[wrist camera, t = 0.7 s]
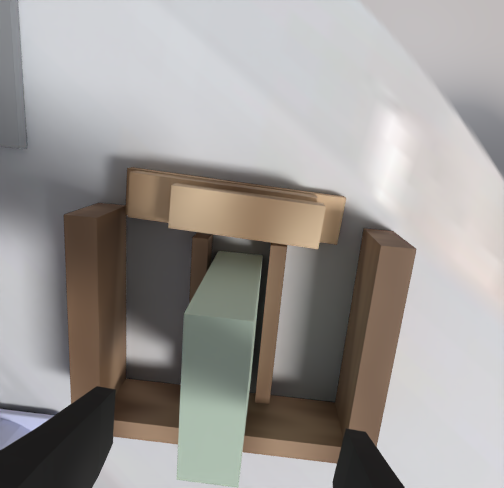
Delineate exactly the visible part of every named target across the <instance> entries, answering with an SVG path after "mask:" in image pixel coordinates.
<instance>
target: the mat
mask: <svg viewBox="0 0 504 488" xmlns="http://www.w3.org/2000/svg"><path fill="white" fill-rule="evenodd" d="M0 147H10V148H27V139H26V123H25V107H24V91H23V75H22V59H21V43H20V27H19V11H18V0H0Z"/></svg>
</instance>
